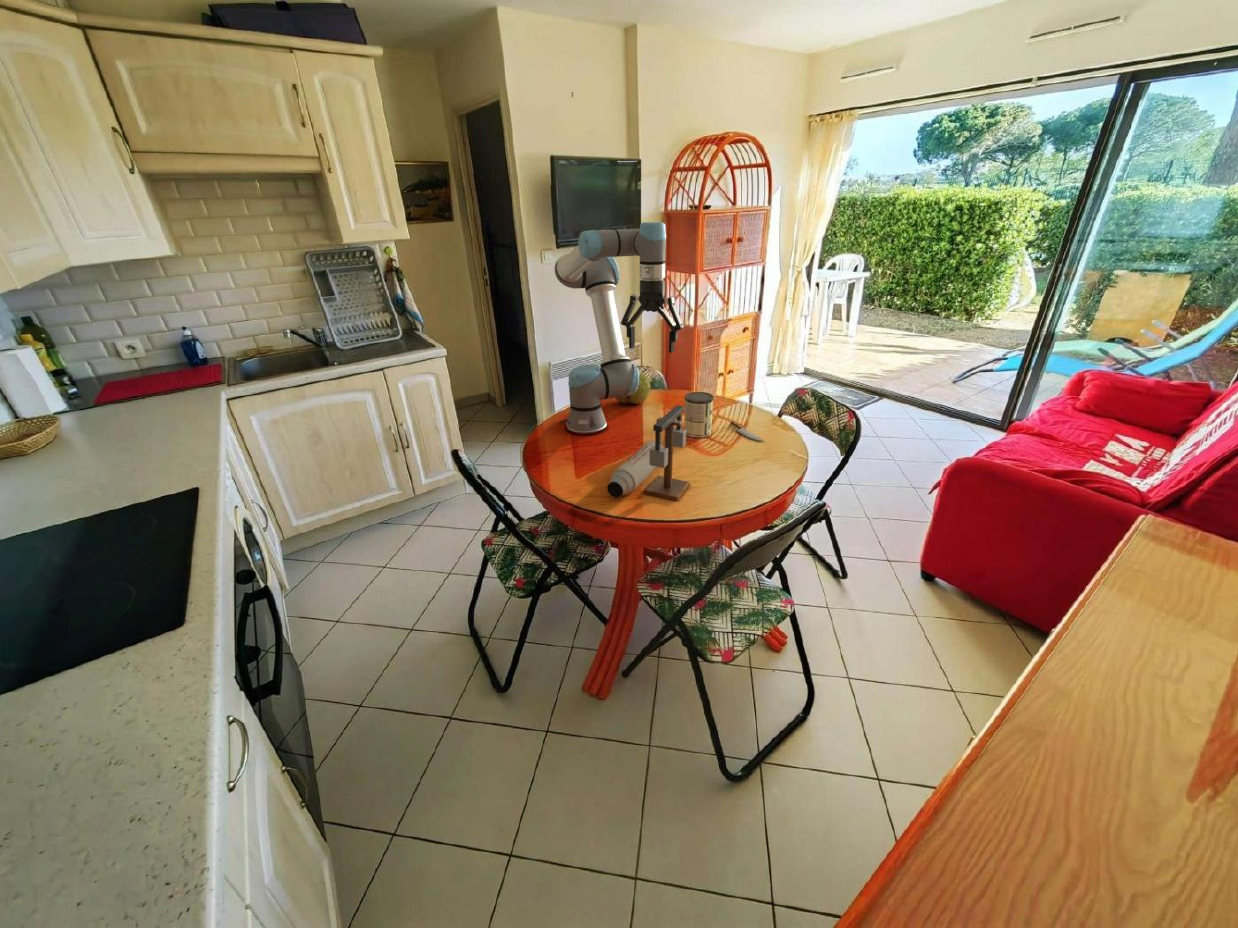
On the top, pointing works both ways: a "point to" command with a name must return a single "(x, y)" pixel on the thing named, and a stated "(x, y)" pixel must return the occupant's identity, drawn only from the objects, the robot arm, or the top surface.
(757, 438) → the chef's knife
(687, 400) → the coffee can
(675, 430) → the headphones
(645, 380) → the fruit
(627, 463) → the thermos bottle
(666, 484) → the stand
